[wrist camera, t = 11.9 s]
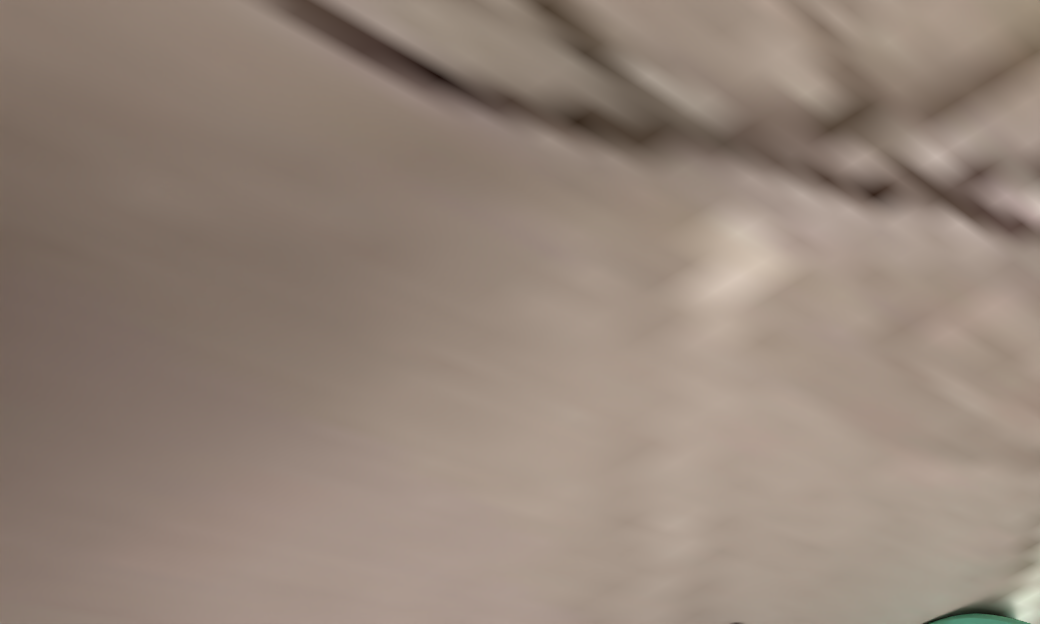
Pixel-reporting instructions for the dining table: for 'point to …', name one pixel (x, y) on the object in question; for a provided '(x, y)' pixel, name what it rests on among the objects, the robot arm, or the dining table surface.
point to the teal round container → (978, 619)
